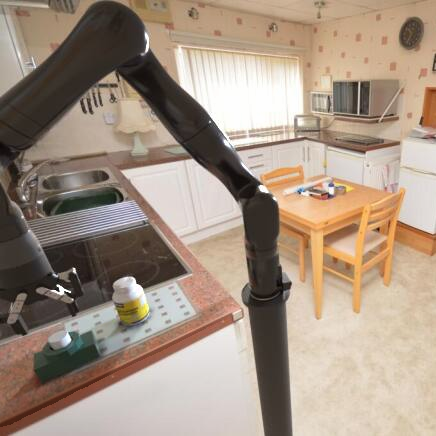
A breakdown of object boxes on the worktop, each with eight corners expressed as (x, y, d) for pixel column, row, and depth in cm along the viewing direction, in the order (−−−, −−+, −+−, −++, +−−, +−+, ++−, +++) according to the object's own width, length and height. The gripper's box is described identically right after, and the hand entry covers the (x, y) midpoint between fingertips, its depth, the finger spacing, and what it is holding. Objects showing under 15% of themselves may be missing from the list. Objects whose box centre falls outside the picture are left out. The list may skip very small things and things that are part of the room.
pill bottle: (115, 324, 75) (100, 289, 69) (134, 306, 80) (122, 272, 75) (137, 328, 74) (124, 293, 68) (155, 310, 79) (144, 276, 74)
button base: (97, 341, 70) (88, 322, 67) (100, 358, 66) (92, 339, 63) (41, 365, 64) (29, 346, 61) (41, 385, 60) (29, 366, 57)
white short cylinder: (71, 335, 64) (67, 328, 63) (72, 344, 62) (68, 337, 61) (52, 343, 62) (47, 335, 61) (52, 353, 60) (48, 345, 59)
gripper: (64, 235, 59) (91, 298, 67) (-43, 261, 51) (2, 330, 58) (67, 251, 54) (96, 316, 62) (-51, 283, 46) (-1, 355, 53)
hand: (50, 323), depth 60 cm, fingers open, 7 cm apart
